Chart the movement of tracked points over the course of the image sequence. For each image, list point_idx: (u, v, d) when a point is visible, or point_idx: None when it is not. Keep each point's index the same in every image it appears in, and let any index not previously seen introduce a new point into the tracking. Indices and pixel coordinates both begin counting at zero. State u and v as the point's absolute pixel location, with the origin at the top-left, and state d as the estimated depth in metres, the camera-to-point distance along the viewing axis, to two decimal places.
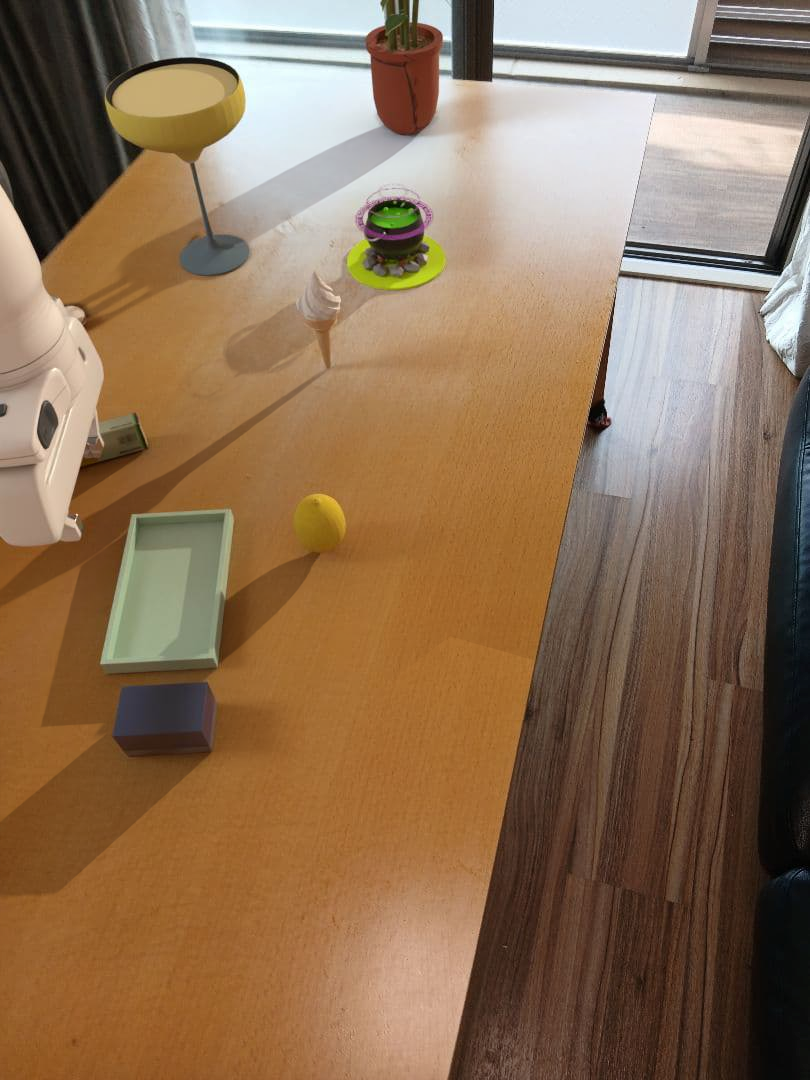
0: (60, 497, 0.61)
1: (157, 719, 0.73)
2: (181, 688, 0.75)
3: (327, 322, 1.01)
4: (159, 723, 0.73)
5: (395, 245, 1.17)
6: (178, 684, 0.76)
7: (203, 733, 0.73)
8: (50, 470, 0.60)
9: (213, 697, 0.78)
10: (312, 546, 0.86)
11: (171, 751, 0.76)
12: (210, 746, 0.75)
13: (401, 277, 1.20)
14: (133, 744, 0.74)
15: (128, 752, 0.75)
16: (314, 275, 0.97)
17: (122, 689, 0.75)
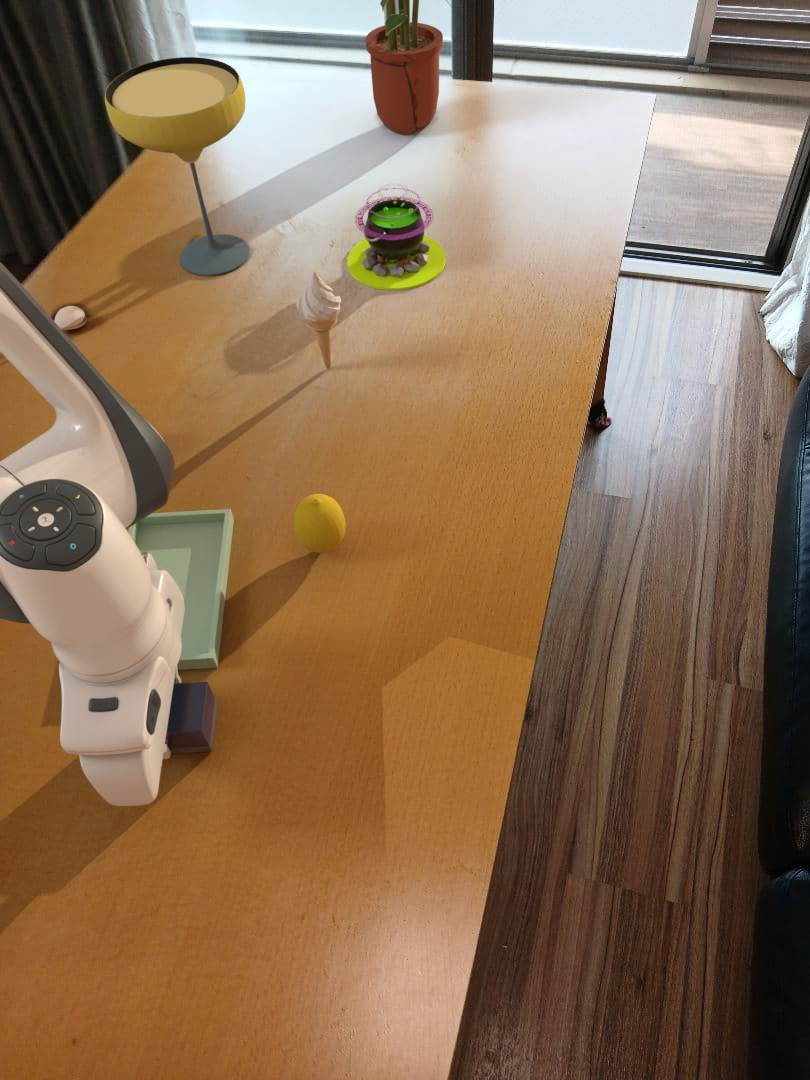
0: (157, 756, 0.67)
1: None
2: (181, 688, 0.75)
3: (327, 322, 1.01)
4: None
5: (395, 245, 1.17)
6: (178, 684, 0.76)
7: (203, 733, 0.73)
8: None
9: (213, 697, 0.78)
10: (312, 546, 0.86)
11: (171, 751, 0.76)
12: (210, 746, 0.75)
13: (401, 277, 1.20)
14: None
15: None
16: (314, 275, 0.97)
17: None
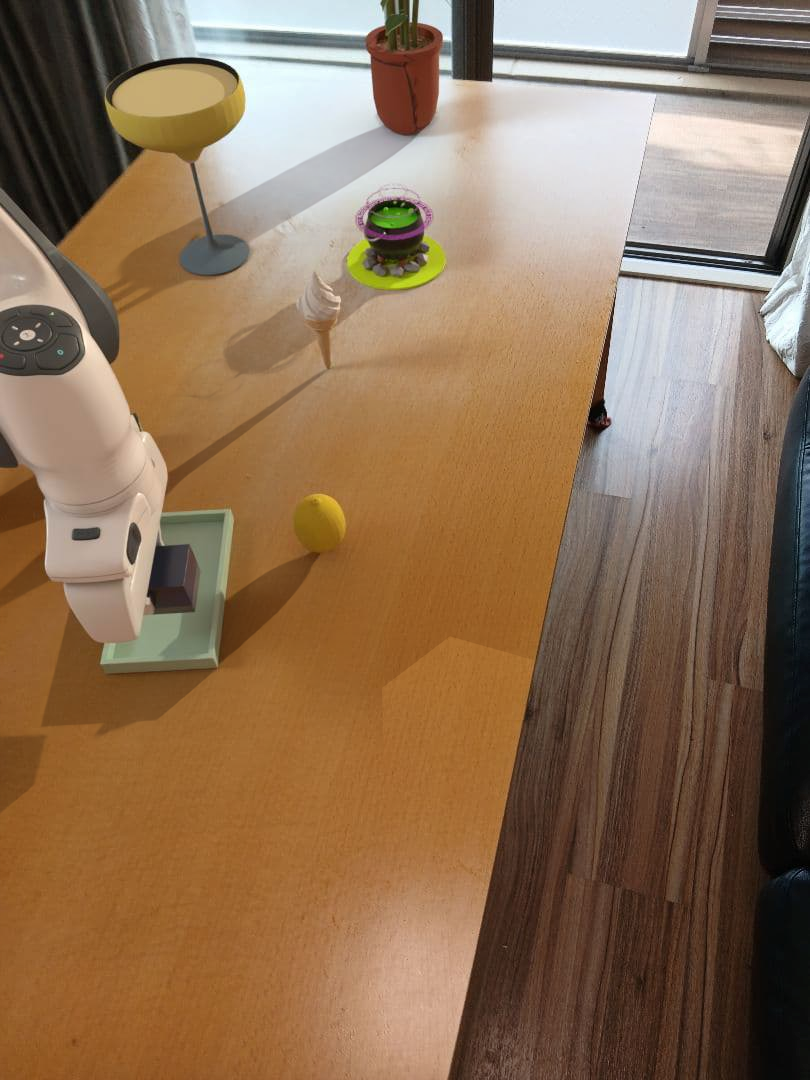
0: (139, 598, 0.70)
1: None
2: (164, 550, 0.78)
3: (327, 322, 1.01)
4: None
5: (395, 245, 1.17)
6: (162, 546, 0.79)
7: (185, 589, 0.76)
8: (131, 576, 0.69)
9: (196, 562, 0.81)
10: (312, 546, 0.86)
11: (155, 611, 0.79)
12: (193, 605, 0.79)
13: (401, 277, 1.20)
14: None
15: None
16: (314, 275, 0.97)
17: None
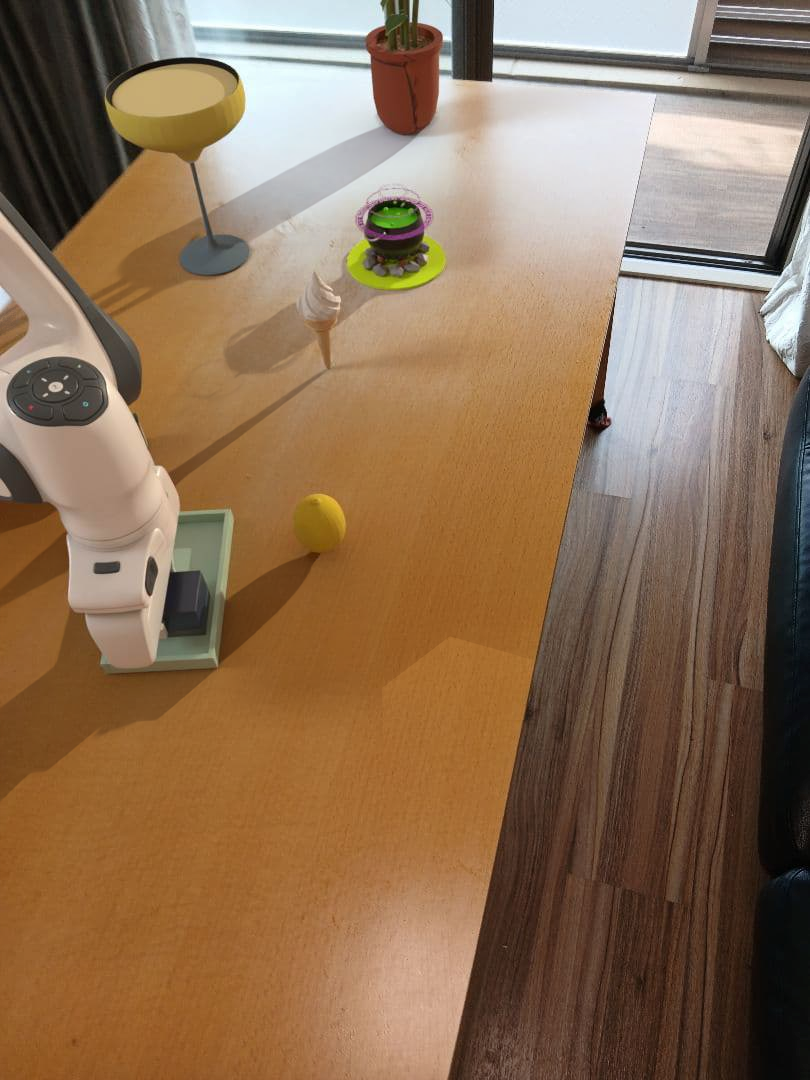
0: (155, 626, 0.74)
1: None
2: (177, 576, 0.82)
3: (327, 322, 1.01)
4: None
5: (395, 245, 1.17)
6: (174, 572, 0.83)
7: (197, 614, 0.80)
8: None
9: (206, 587, 0.85)
10: (312, 546, 0.86)
11: (168, 634, 0.83)
12: (203, 629, 0.83)
13: (401, 277, 1.20)
14: None
15: None
16: (314, 275, 0.97)
17: None
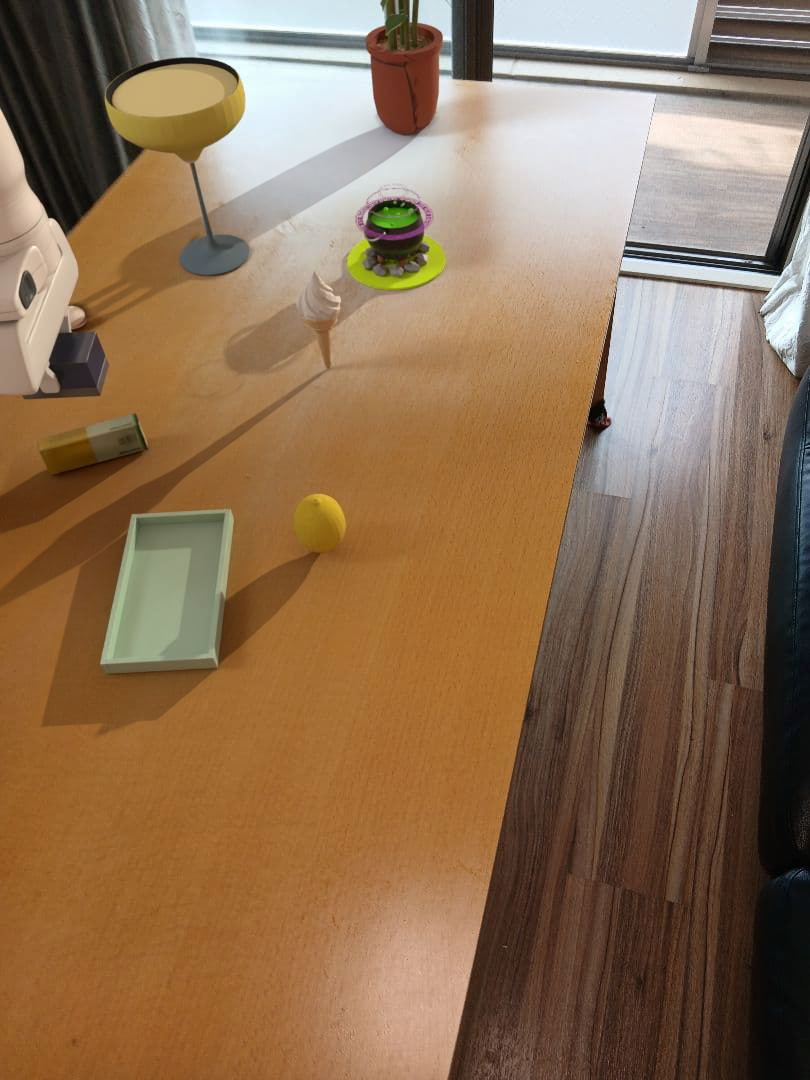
0: (38, 357, 0.76)
1: None
2: (72, 335, 0.84)
3: (327, 322, 1.01)
4: None
5: (395, 245, 1.17)
6: (69, 333, 0.84)
7: (88, 367, 0.82)
8: (30, 333, 0.75)
9: (103, 353, 0.86)
10: (312, 546, 0.86)
11: (63, 393, 0.84)
12: (97, 388, 0.84)
13: (401, 277, 1.20)
14: None
15: None
16: (314, 275, 0.97)
17: None
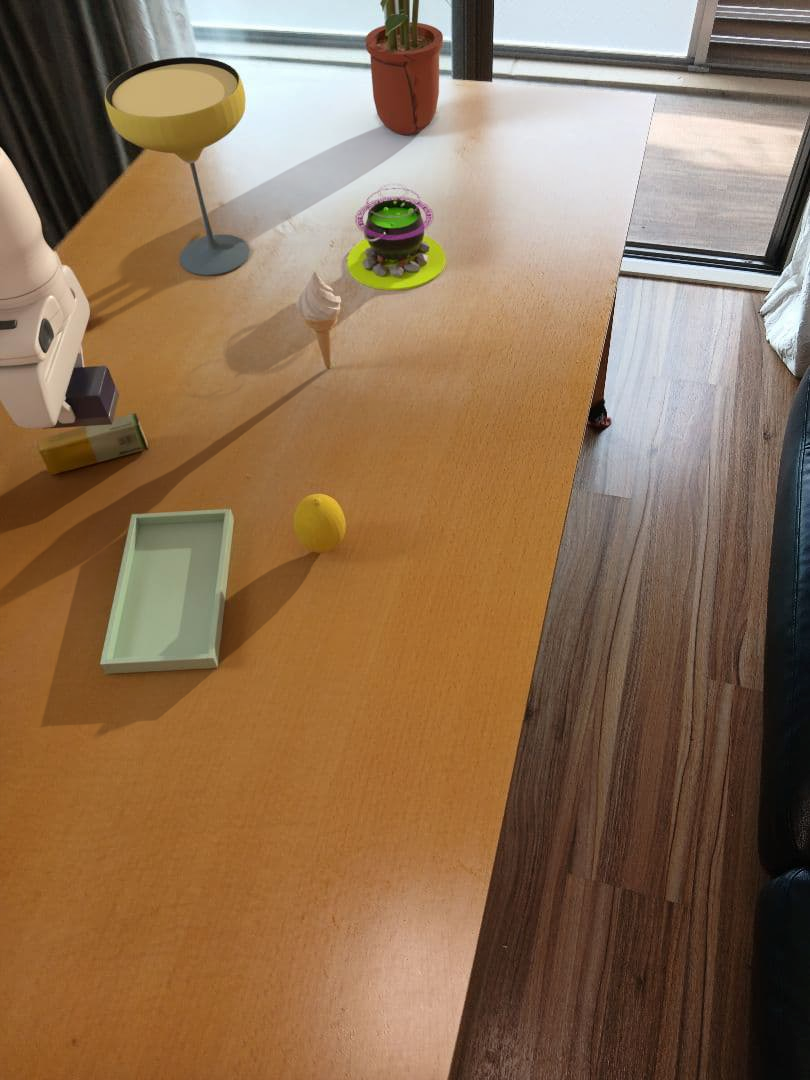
0: (56, 394, 0.84)
1: None
2: (85, 369, 0.92)
3: (327, 322, 1.01)
4: None
5: (395, 245, 1.17)
6: (83, 367, 0.92)
7: (101, 399, 0.90)
8: (48, 373, 0.83)
9: (114, 385, 0.95)
10: (312, 546, 0.86)
11: (78, 423, 0.93)
12: (109, 417, 0.92)
13: (401, 277, 1.20)
14: None
15: None
16: (314, 275, 0.97)
17: None
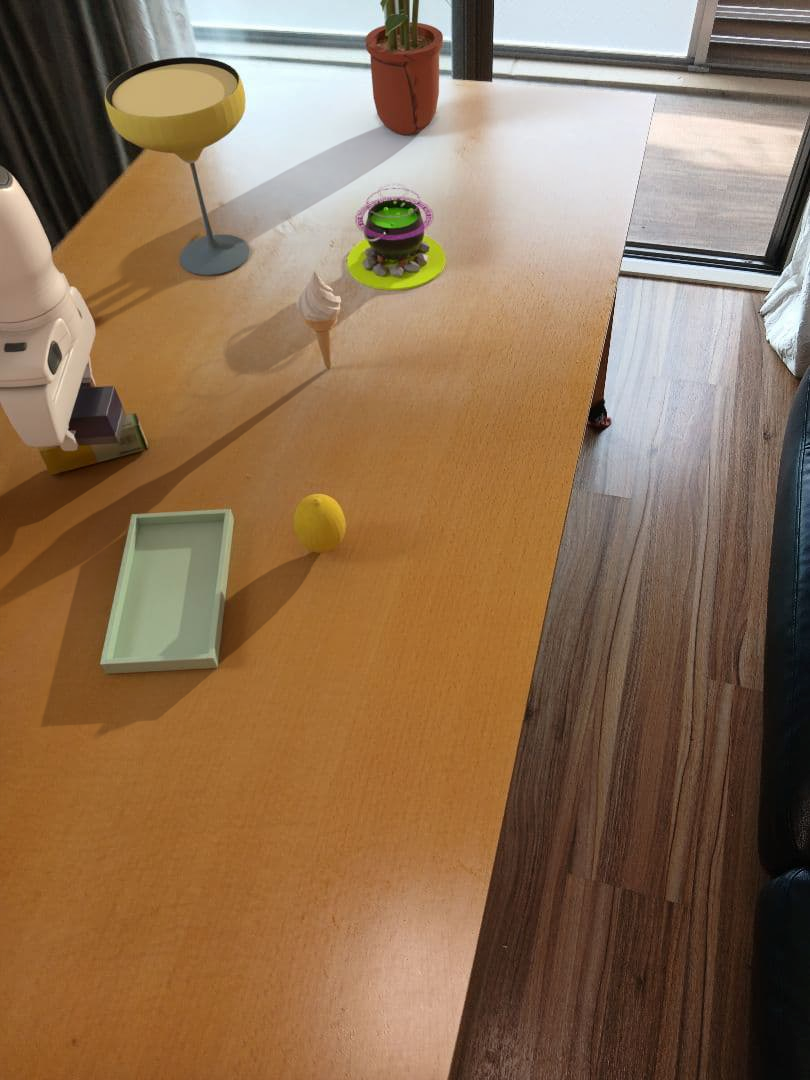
0: (63, 413, 0.86)
1: None
2: (93, 390, 0.95)
3: (327, 322, 1.01)
4: (74, 410, 0.93)
5: (395, 245, 1.17)
6: (91, 387, 0.95)
7: (108, 419, 0.93)
8: (56, 393, 0.85)
9: (120, 404, 0.97)
10: (312, 546, 0.86)
11: (85, 441, 0.95)
12: (116, 436, 0.95)
13: (401, 277, 1.20)
14: None
15: None
16: (314, 275, 0.97)
17: None
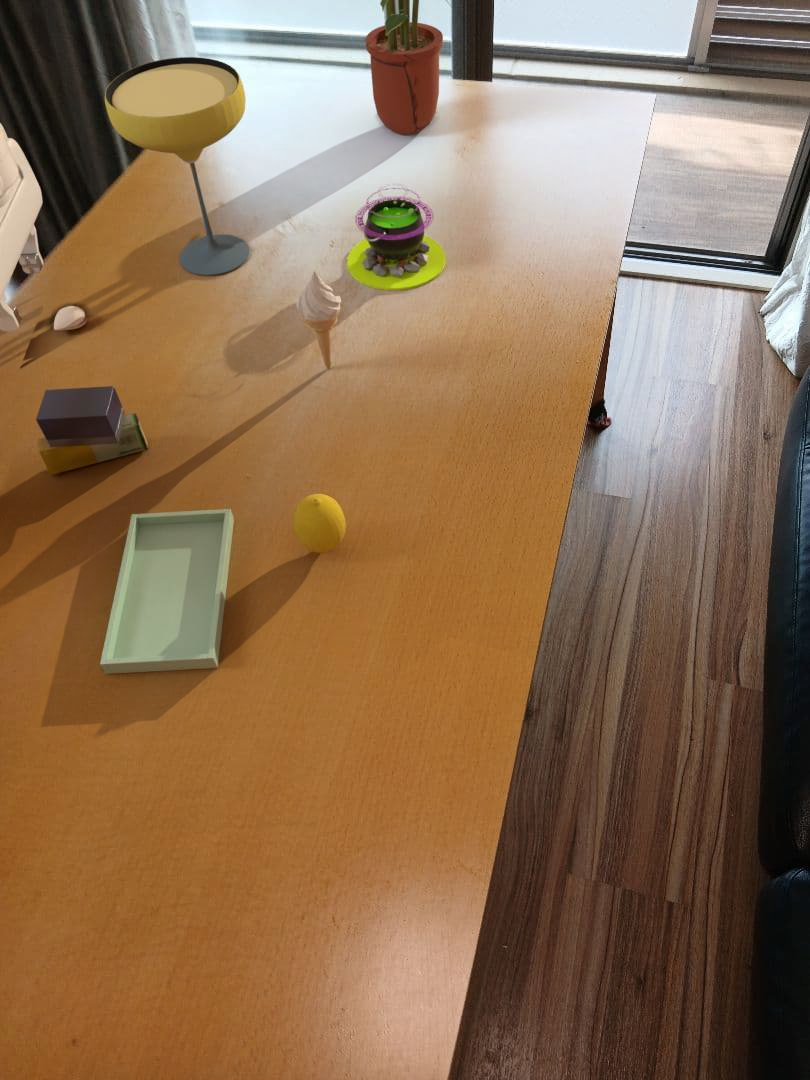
0: None
1: (71, 409, 0.93)
2: (92, 390, 0.95)
3: (327, 322, 1.01)
4: (73, 411, 0.92)
5: (395, 245, 1.17)
6: (90, 388, 0.95)
7: (108, 419, 0.93)
8: None
9: (120, 404, 0.97)
10: (312, 546, 0.86)
11: (85, 442, 0.95)
12: (116, 437, 0.95)
13: (401, 277, 1.20)
14: (53, 430, 0.93)
15: (50, 441, 0.95)
16: (314, 275, 0.97)
17: (46, 391, 0.95)
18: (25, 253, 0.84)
